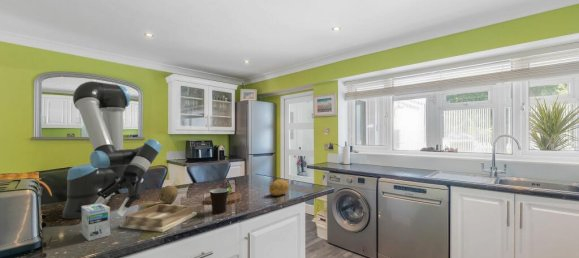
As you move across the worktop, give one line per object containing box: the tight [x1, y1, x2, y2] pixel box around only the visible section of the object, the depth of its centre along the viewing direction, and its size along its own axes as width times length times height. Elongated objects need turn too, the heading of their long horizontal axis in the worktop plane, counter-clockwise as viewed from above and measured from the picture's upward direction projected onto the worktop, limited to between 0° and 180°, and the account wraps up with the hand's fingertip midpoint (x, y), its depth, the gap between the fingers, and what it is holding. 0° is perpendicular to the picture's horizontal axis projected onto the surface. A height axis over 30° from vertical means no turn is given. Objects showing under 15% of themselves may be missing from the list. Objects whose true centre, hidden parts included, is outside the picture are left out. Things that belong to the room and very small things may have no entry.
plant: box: [204, 179, 243, 205], centre depth 145 cm, size 20×20×11 cm
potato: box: [268, 178, 289, 197], centre depth 154 cm, size 10×13×9 cm
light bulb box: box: [81, 203, 111, 242], centre depth 96 cm, size 11×7×11 cm, turn 50°
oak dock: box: [119, 203, 198, 233], centre depth 111 cm, size 21×21×4 cm
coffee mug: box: [209, 188, 228, 214], centre depth 124 cm, size 12×9×10 cm
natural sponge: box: [159, 184, 179, 205], centre depth 137 cm, size 9×9×10 cm
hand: (105, 214), depth 98 cm, fingers open, 13 cm apart
